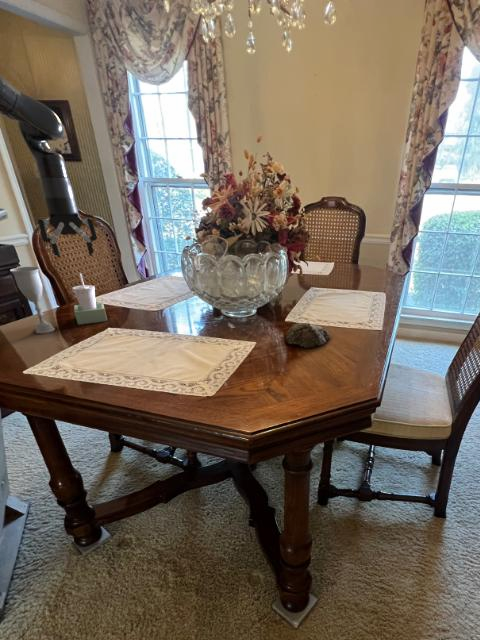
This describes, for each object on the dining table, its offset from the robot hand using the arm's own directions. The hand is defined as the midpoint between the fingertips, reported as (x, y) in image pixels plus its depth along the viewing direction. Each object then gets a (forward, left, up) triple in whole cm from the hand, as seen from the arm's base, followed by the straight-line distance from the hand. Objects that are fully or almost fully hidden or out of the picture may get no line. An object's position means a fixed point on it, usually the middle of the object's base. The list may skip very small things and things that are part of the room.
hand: (75, 256), depth 115 cm
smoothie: (0, 0, -19) cm, 19 cm away
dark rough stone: (+54, -49, -20) cm, 76 cm away
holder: (0, 0, -20) cm, 20 cm away
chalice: (-13, -6, -20) cm, 25 cm away
